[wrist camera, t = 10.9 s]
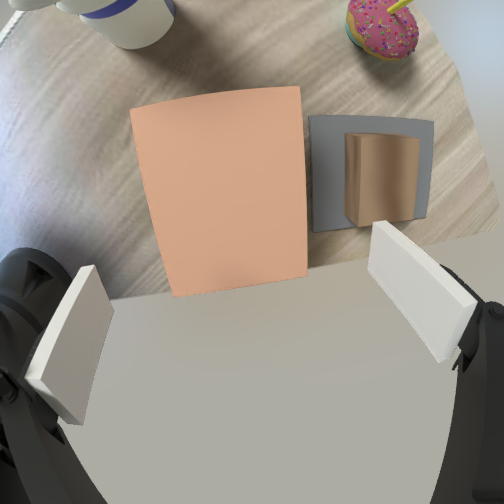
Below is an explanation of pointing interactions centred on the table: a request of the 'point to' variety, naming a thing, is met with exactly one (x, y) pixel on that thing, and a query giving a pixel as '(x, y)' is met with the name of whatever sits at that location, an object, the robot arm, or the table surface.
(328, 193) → the mat
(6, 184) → the table surface
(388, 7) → the cupcake
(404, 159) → the brown wooden block
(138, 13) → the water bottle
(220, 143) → the lid
